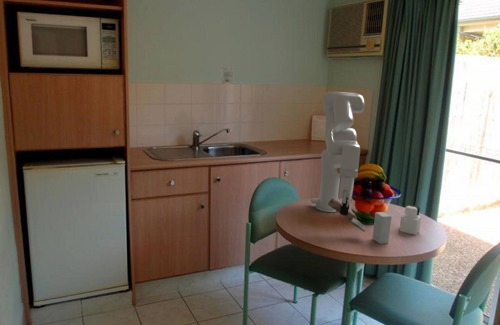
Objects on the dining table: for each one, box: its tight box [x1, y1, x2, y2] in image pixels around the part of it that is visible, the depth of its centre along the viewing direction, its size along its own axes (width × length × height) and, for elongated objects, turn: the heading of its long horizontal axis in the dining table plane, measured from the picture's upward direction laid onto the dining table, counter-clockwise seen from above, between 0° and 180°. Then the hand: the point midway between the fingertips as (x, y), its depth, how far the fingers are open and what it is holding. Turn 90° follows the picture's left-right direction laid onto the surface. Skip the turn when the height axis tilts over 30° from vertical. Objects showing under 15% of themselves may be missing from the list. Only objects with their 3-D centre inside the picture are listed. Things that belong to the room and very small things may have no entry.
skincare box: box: [372, 211, 392, 245], centre depth 179 cm, size 6×4×12 cm
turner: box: [328, 198, 367, 233], centre depth 183 cm, size 19×5×3 cm
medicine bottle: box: [399, 204, 422, 236], centre depth 193 cm, size 7×7×12 cm
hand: (344, 213), depth 184 cm, fingers closed on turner, 2 cm apart
